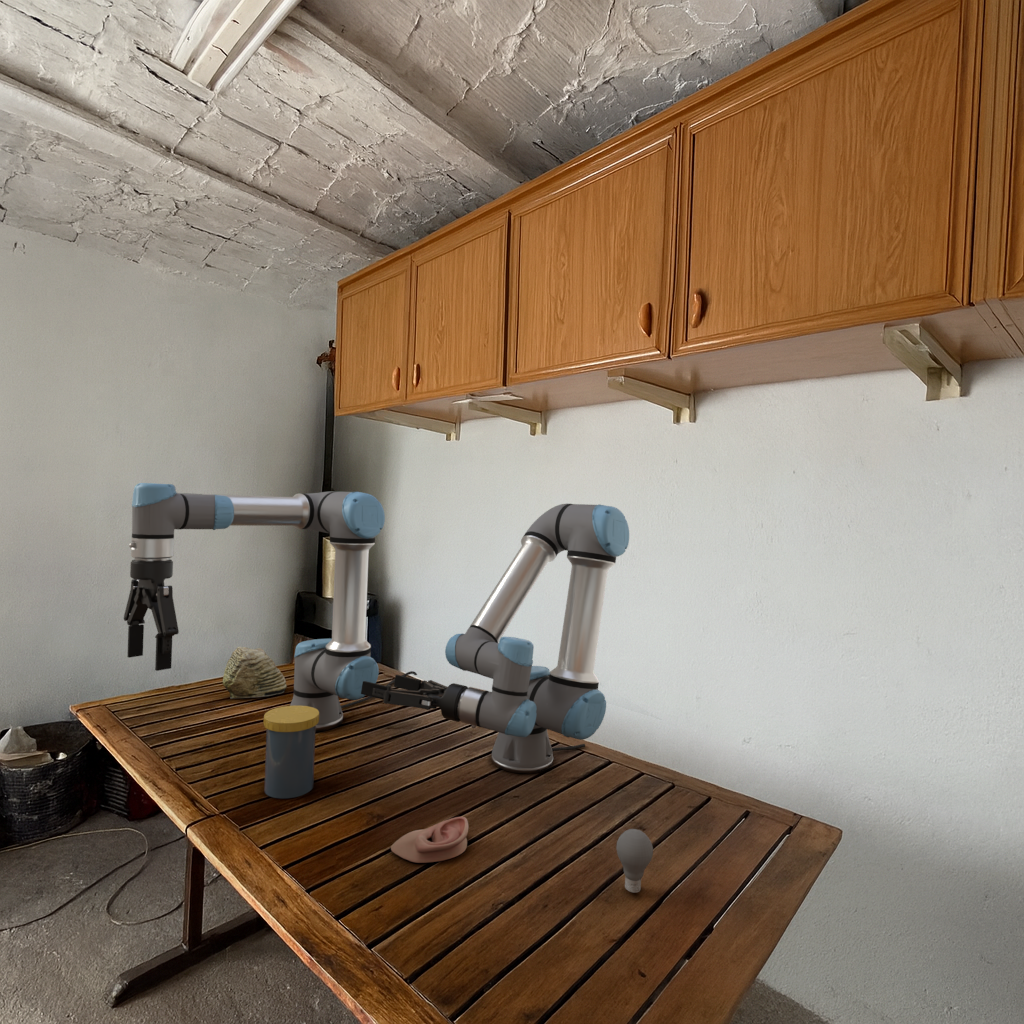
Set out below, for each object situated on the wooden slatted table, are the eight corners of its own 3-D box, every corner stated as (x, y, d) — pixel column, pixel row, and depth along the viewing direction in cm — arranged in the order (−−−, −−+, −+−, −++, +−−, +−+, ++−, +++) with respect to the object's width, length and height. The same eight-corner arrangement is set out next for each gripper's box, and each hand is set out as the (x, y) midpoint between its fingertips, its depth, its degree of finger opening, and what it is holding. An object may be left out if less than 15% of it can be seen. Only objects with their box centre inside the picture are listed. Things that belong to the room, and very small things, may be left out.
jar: (318, 792, 136) (321, 720, 135) (268, 802, 130) (271, 727, 130) (307, 774, 144) (310, 705, 144) (260, 782, 139) (263, 711, 139)
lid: (324, 727, 135) (325, 718, 135) (268, 735, 129) (268, 726, 129) (312, 711, 145) (312, 702, 145) (259, 718, 139) (259, 709, 139)
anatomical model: (384, 835, 112) (408, 805, 123) (383, 857, 112) (407, 825, 123) (456, 847, 109) (474, 815, 120) (455, 869, 109) (473, 836, 121)
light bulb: (610, 879, 108) (613, 822, 108) (644, 879, 109) (647, 822, 109) (619, 902, 102) (622, 840, 102) (655, 901, 103) (658, 840, 103)
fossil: (218, 695, 195) (220, 647, 195) (278, 685, 208) (279, 640, 207) (228, 703, 189) (230, 653, 188) (289, 692, 201) (290, 645, 201)
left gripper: (108, 554, 134) (104, 654, 134) (159, 565, 118) (155, 678, 119) (146, 552, 140) (143, 648, 140) (199, 563, 124) (195, 671, 124)
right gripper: (434, 732, 123) (344, 708, 131) (484, 713, 146) (404, 693, 154) (440, 694, 124) (350, 672, 132) (489, 680, 147) (409, 662, 155)
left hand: (148, 662), depth 129 cm, fingers open, 13 cm apart
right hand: (379, 683), depth 143 cm, fingers open, 13 cm apart
